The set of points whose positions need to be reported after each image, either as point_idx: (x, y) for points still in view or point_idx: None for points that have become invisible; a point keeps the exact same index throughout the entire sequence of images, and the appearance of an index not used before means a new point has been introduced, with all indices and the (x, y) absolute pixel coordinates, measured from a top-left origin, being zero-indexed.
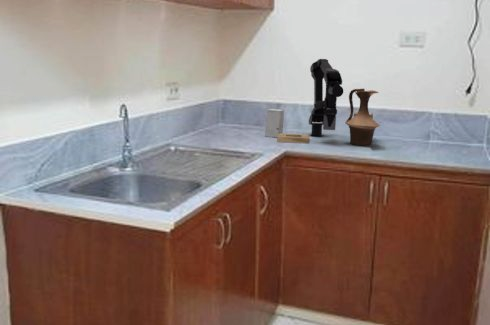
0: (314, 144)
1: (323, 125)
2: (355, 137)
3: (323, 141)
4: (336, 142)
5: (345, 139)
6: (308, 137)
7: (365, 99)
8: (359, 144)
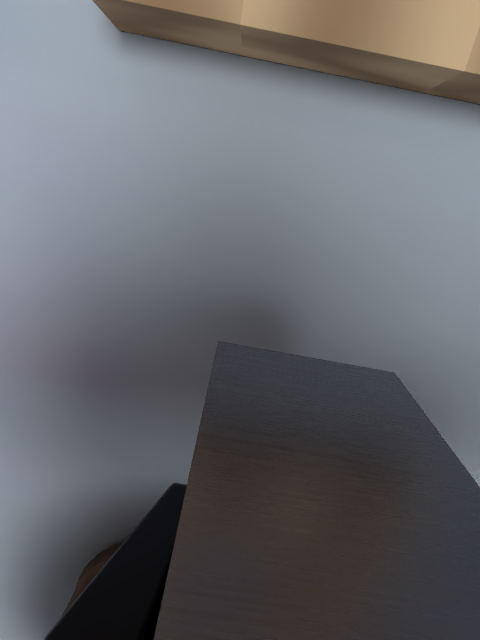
0: (40, 117)
1: (213, 394)
2: None
3: (330, 303)
4: None
5: None
6: (216, 8)
7: None
8: (78, 581)
